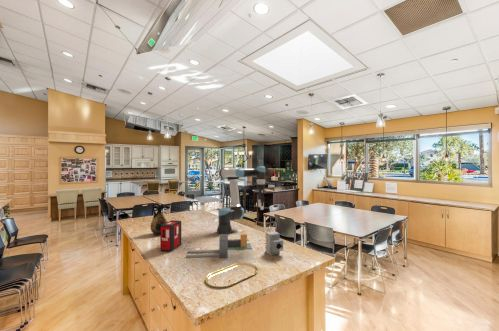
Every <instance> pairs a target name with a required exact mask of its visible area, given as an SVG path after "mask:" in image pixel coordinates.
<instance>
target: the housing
mask: <svg viewBox="0 0 499 331" xmlns="http://www.w3.org/2000/svg"><path fill="white" fill-rule="evenodd" d="M228 236H229V234H219V240H218V241H219V243H218V248H219V249H204V250H201V249H200V250H199V249H198V250H195V249H194V250H188V251H187V254H186V255H185V258H208V257H209V258H210V257H212V258H213V257H219V258H220V259H227V258H229V257H228V256H229V254H228V253H229V250H228V240H229V237H228ZM203 253H204V254H203Z"/></svg>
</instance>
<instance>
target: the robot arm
mask: <svg viewBox="0 0 499 331" xmlns="http://www.w3.org/2000/svg"><path fill="white" fill-rule="evenodd" d="M218 175H219V177H220V178H221V179H225V180H227V181H228V182H229V191H230V202H231V204H230V207H222V208H219V210H218V214H217V215H218V225H217V229H216V233H217V234H219V235H220V234H228V235H229V234H232V233H233V227H232V225H231V222H232V221H237V220H242V219H243V217H244V215H245V210H244V208H243V207H242V204H241V203H240V193H239V182H238V181H239V180H240V178H250V177H251V178H253V177H254V178H256V180H255V181H256V189H257V191H258V192H257V201H258V202H257V207H258V208H260V211H263V210H265V195H264V194H265V192H264V189H266V167H265V166H261V165H260V166H258V165H257V166H256V168H255V167H254V168H251V167H250V168H239V167H233V166H232V167H230V166H229V167H222V168H220V169H219V172H218ZM231 232H232V233H231Z"/></svg>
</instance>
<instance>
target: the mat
mask: <svg viewBox="0 0 499 331" xmlns="http://www.w3.org/2000/svg"><path fill="white" fill-rule="evenodd" d="M252 249H253V248H252V245H251V243H249V242H247V247H228V251H230V250H233V251H234V250H252Z"/></svg>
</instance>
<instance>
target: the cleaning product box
mask: <svg viewBox="0 0 499 331" xmlns="http://www.w3.org/2000/svg"><path fill="white" fill-rule="evenodd" d="M159 236H160V237H159V238H160V239H159V240H160V242H159V243H160V249H159V250H160V252H162V253H172V252H174V251H175V250H177V249H178V248H179V247H181V246H182V220H169V221H167V223H165V224H162V225H160V235H159Z"/></svg>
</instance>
